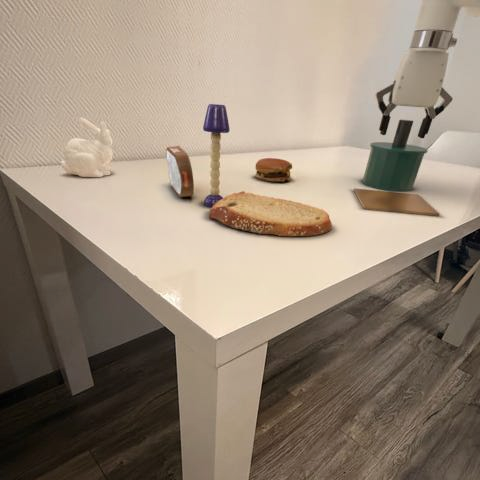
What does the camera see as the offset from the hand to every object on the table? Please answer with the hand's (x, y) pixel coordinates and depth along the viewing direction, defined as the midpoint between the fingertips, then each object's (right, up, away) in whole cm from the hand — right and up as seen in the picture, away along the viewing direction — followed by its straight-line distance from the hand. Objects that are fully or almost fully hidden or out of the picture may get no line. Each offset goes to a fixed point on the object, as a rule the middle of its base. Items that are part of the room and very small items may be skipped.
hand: (401, 135), depth 81 cm
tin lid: (0, -2, +2) cm, 3 cm away
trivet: (-5, -19, -7) cm, 21 cm away
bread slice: (-34, -28, -22) cm, 49 cm away
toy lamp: (-44, -22, -15) cm, 52 cm away
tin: (-52, -18, -9) cm, 56 cm away
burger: (-31, -9, +5) cm, 32 cm away
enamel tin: (-1, -9, +7) cm, 11 cm away
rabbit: (-74, -10, -1) cm, 75 cm away
